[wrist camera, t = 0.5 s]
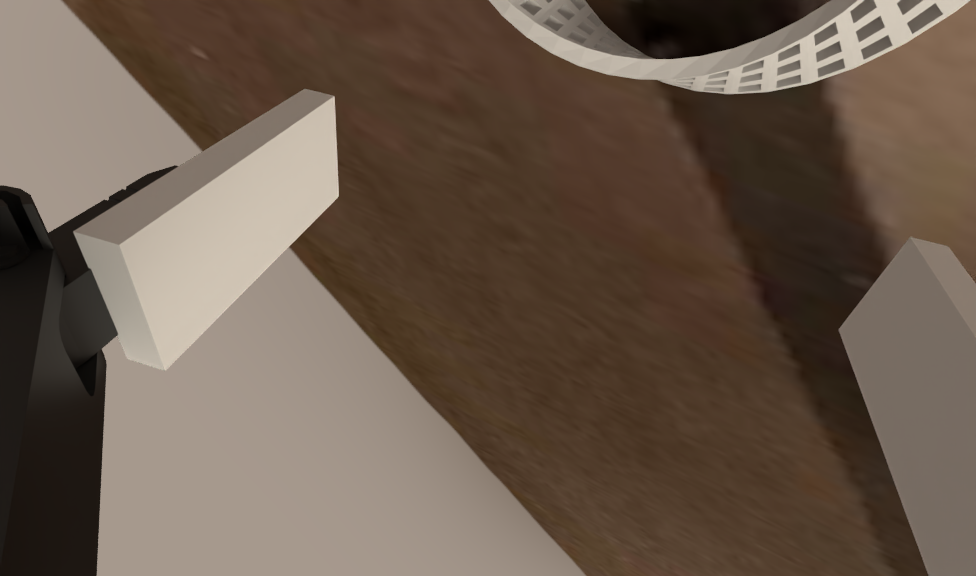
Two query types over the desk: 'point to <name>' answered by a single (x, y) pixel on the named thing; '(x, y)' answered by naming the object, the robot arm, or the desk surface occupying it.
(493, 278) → the desk surface
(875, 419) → the robot arm
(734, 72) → the decorative object
